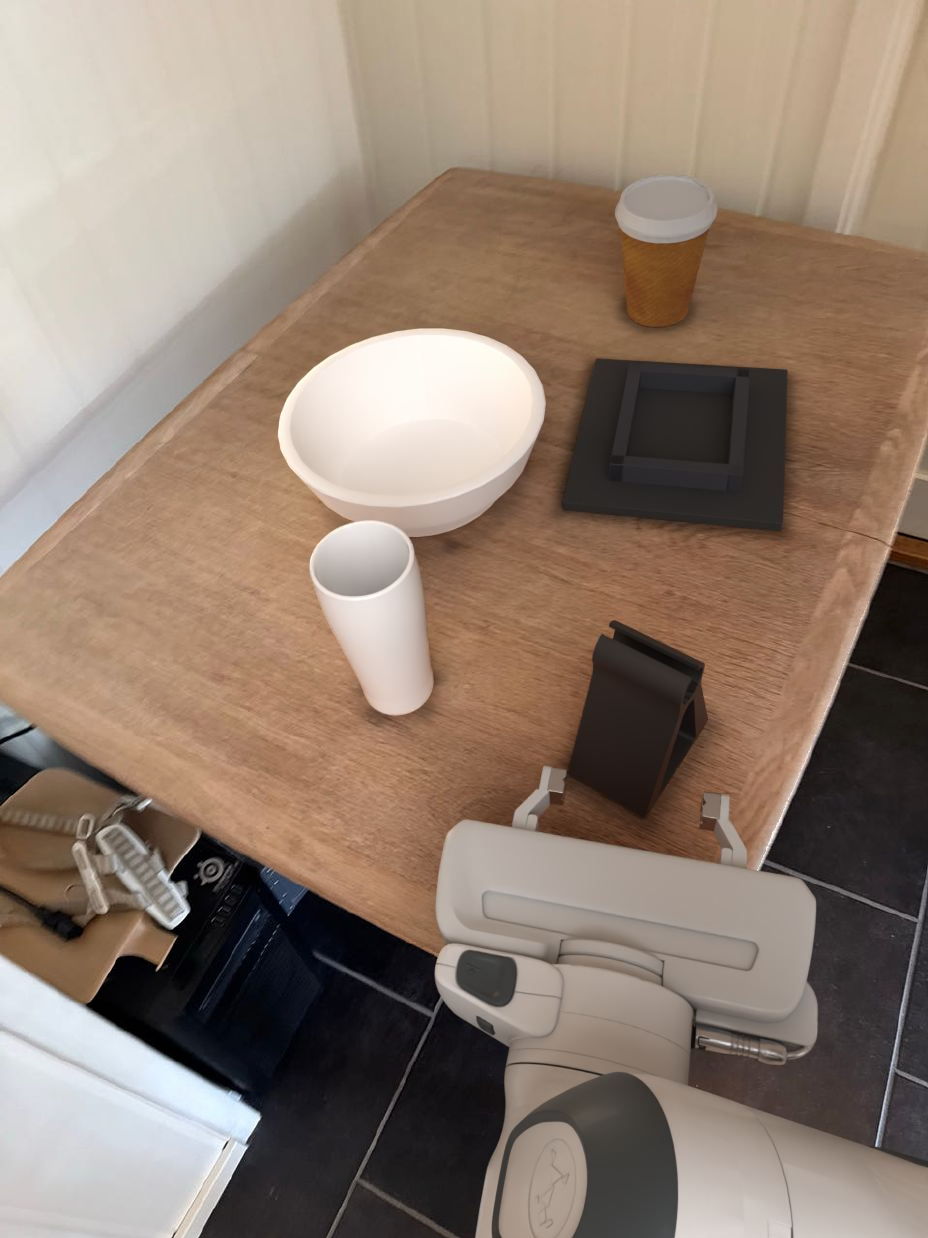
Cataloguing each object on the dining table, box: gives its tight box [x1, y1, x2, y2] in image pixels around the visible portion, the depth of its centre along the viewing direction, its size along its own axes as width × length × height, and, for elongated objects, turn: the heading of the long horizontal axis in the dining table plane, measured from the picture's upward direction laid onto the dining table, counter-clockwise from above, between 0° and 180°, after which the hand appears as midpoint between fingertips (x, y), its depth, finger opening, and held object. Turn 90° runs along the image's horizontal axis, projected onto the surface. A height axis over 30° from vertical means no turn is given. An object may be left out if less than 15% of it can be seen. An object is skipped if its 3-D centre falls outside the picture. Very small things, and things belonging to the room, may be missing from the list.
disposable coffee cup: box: [614, 173, 718, 328], centre depth 87 cm, size 10×10×12 cm
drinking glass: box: [308, 520, 435, 716], centre depth 60 cm, size 7×7×15 cm
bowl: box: [277, 327, 547, 538], centre depth 76 cm, size 22×22×8 cm
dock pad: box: [561, 357, 789, 532], centre depth 78 cm, size 18×20×3 cm
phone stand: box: [567, 619, 709, 820], centre depth 56 cm, size 9×6×12 cm, turn 143°
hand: (634, 783), depth 52 cm, fingers open, 8 cm apart
